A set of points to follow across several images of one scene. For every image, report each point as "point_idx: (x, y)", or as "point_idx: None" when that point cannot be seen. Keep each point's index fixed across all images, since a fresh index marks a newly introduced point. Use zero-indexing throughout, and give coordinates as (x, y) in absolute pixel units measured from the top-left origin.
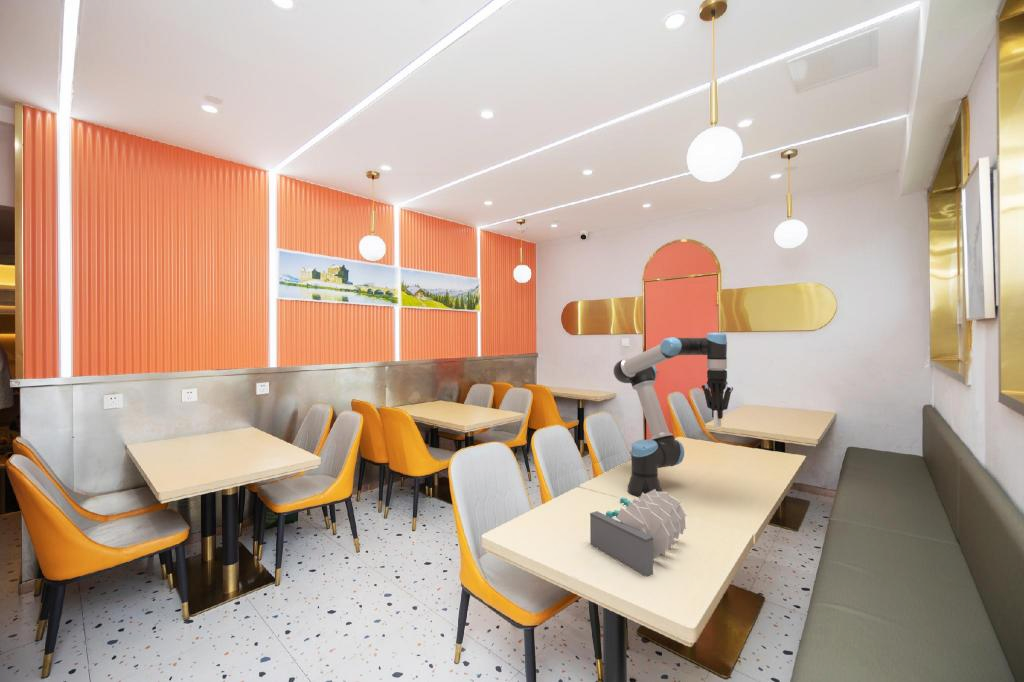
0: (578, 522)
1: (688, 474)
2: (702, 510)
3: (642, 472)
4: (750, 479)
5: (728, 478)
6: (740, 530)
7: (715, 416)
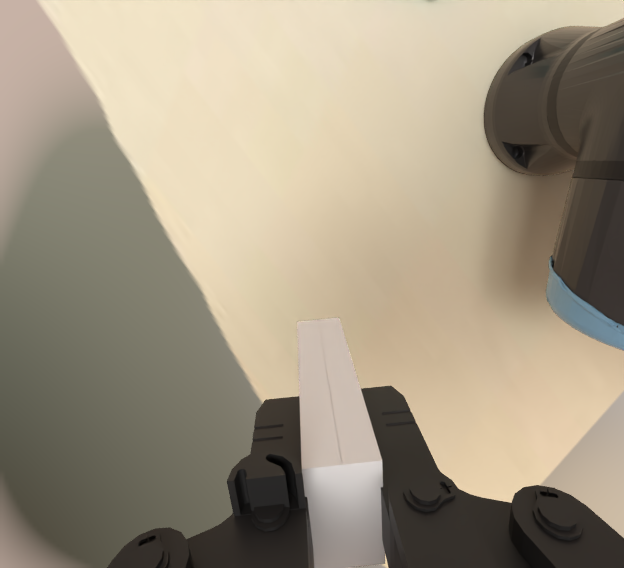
0: None
1: (556, 400)
2: (315, 155)
3: (600, 30)
4: None
5: (456, 467)
6: (141, 118)
7: (326, 388)
